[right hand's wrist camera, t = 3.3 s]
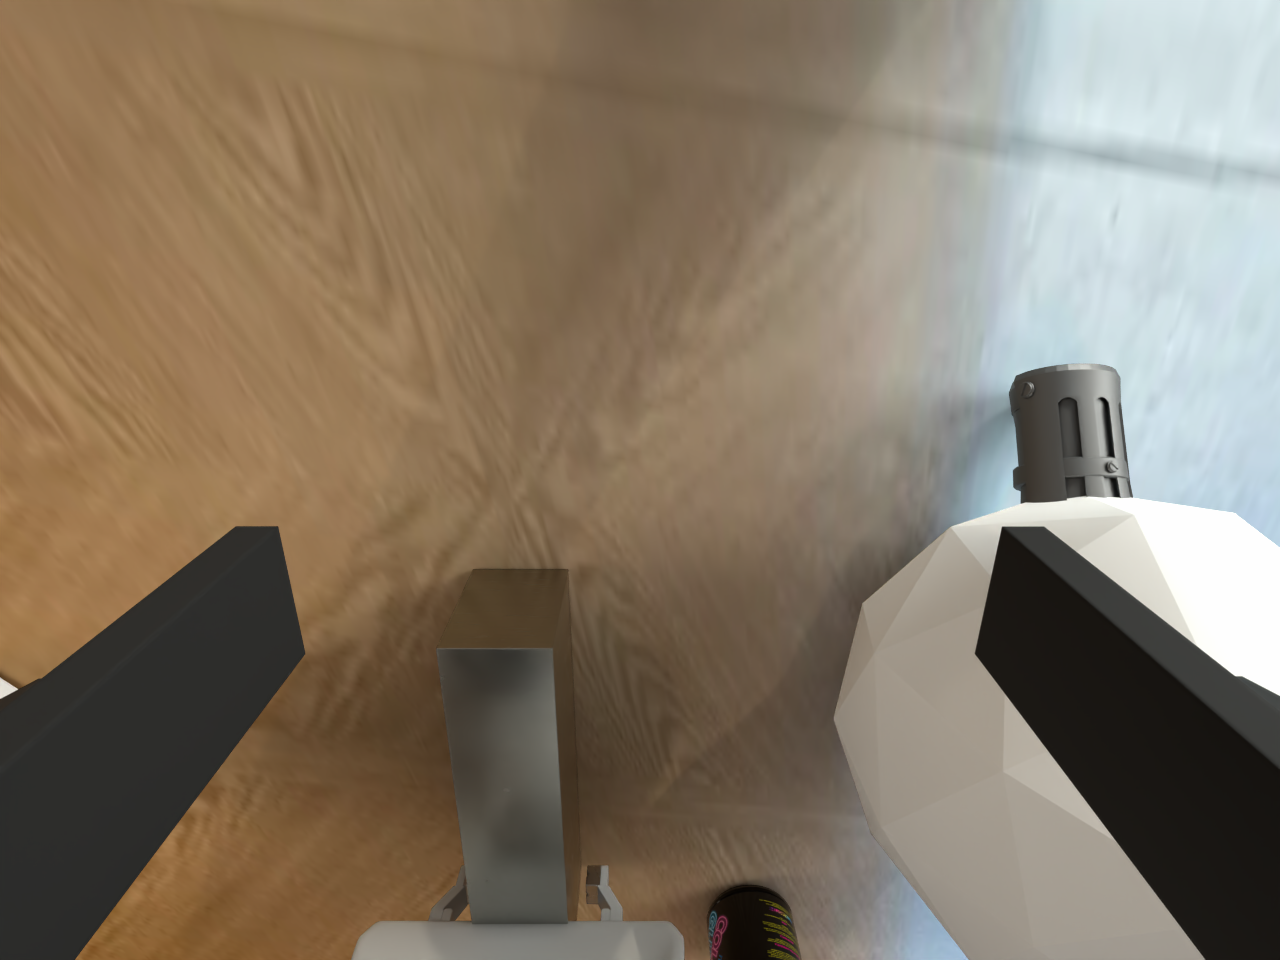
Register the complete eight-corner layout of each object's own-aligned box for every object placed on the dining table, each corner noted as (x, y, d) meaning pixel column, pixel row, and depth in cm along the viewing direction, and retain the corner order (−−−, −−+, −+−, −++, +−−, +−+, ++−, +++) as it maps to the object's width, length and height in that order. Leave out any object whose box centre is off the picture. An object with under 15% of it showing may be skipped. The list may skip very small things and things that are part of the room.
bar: (472, 568, 43) (435, 648, 35) (568, 568, 43) (552, 648, 35) (503, 866, 52) (479, 981, 45) (581, 867, 52) (571, 981, 45)
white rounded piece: (773, 914, 40) (1163, 1340, 17) (767, 419, 46) (1056, 231, 22) (1100, 888, 45) (1752, 1194, 22) (1059, 443, 50) (1547, 308, 27)
